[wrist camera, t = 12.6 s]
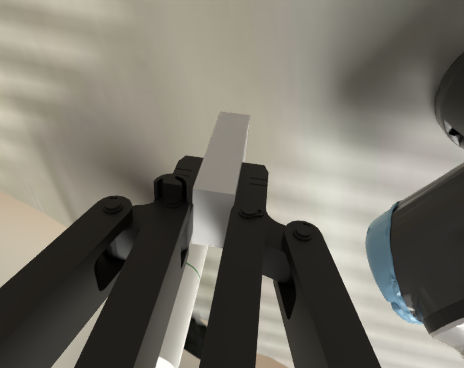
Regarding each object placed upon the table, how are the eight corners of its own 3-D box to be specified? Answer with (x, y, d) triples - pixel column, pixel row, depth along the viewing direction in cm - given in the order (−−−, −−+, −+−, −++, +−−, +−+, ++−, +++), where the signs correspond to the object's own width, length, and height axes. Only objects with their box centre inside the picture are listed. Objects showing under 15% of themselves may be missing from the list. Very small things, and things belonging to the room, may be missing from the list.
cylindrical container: (174, 208, 61) (118, 346, 41) (215, 217, 61) (180, 360, 41) (170, 237, 65) (118, 376, 45) (208, 246, 65) (173, 388, 45)
